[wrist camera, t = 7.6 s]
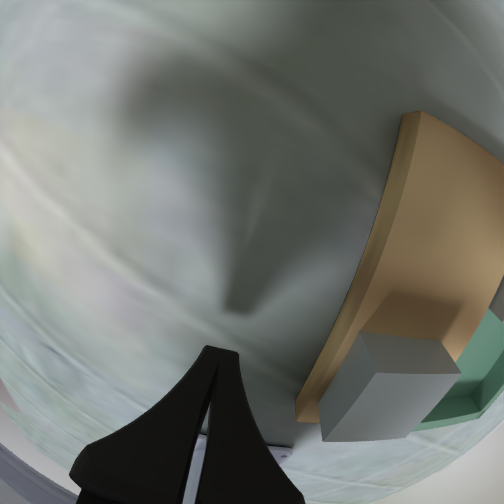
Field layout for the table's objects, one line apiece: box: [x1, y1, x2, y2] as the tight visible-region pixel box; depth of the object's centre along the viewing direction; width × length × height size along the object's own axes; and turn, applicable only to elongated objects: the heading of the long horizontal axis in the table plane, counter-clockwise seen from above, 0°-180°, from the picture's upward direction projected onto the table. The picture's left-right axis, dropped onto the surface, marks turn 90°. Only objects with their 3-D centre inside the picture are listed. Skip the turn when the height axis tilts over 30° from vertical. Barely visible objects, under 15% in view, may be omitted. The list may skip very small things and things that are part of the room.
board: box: [295, 111, 504, 423], centre depth 11 cm, size 16×8×2 cm, turn 167°
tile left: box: [318, 331, 462, 442], centre depth 10 cm, size 5×5×2 cm
